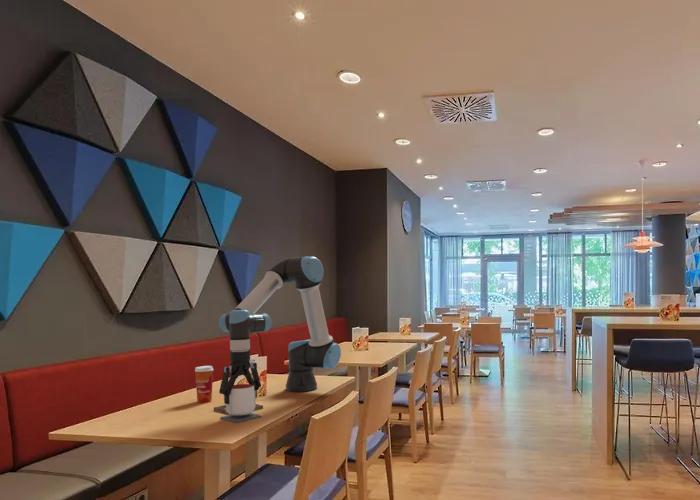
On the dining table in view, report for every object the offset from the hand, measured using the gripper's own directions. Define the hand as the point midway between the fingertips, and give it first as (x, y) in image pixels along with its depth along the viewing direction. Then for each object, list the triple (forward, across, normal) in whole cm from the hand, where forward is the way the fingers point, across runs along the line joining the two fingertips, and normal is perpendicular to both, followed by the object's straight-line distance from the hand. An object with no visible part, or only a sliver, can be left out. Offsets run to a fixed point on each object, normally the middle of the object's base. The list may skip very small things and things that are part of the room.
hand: (241, 409), depth 199 cm
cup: (+1, 0, 0) cm, 1 cm away
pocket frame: (+3, -7, -13) cm, 15 cm away
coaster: (+3, 0, 0) cm, 3 cm away
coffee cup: (+3, -7, -39) cm, 40 cm away
